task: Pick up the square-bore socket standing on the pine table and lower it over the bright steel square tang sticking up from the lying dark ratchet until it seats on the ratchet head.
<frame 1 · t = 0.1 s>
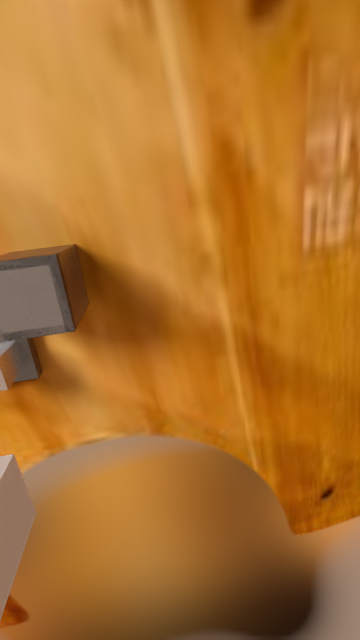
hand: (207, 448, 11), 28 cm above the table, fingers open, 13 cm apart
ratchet: (9, 351, 38), on the table
socket: (51, 279, 35), on the table
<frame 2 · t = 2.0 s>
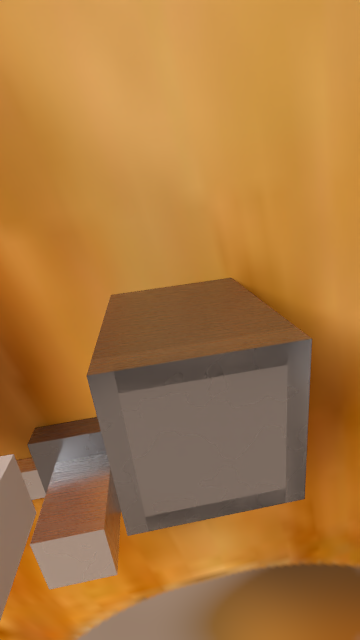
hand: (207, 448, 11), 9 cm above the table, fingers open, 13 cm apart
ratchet: (93, 460, 21), on the table
socket: (178, 341, 19), on the table
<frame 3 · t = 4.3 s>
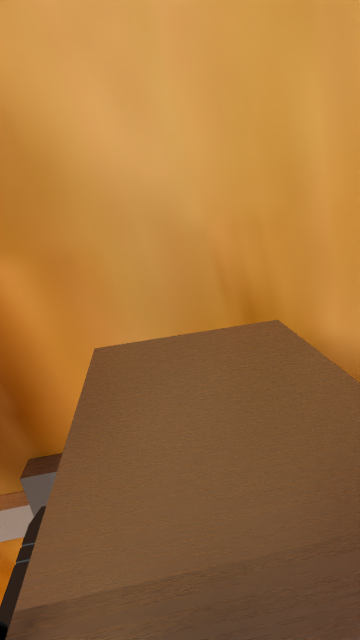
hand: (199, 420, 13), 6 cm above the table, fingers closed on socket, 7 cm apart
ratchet: (89, 492, 20), on the table
socket: (197, 410, 13), point 6 cm above the table, touching gripper
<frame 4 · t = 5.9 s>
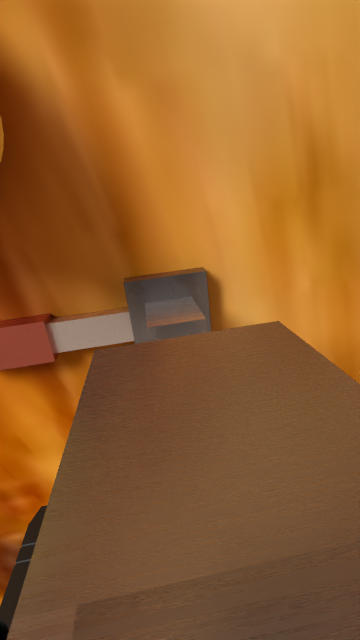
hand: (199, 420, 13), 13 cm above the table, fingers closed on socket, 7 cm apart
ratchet: (169, 315, 25), on the table
socket: (197, 412, 13), point 13 cm above the table, touching gripper
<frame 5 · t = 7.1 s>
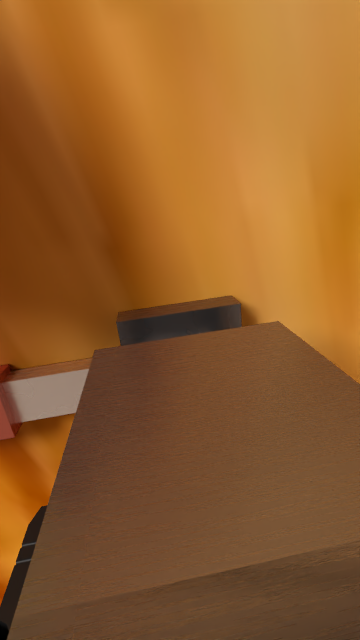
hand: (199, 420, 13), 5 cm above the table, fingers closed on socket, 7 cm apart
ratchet: (183, 363, 17), on the table
socket: (197, 412, 13), point 5 cm above the table, touching gripper
when the fingers open (3 cm above the table, at t = 7.8 s): socket drops 1 cm, resting on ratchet.
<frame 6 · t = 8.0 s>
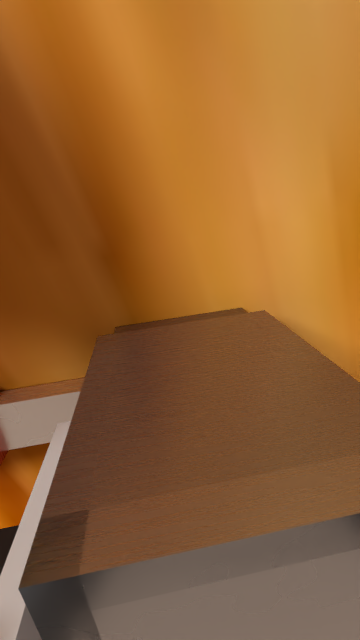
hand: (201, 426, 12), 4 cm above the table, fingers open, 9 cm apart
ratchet: (187, 381, 16), on the table
socket: (191, 394, 14), point 2 cm above the table, touching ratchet
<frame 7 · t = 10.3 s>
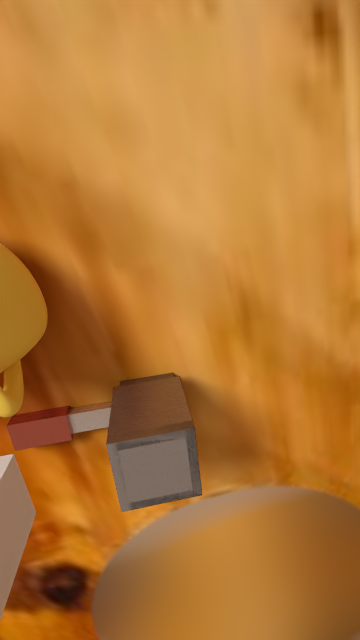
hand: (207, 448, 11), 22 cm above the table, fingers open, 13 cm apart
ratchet: (151, 403, 36), on the table
socket: (151, 409, 34), point 1 cm above the table, touching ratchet
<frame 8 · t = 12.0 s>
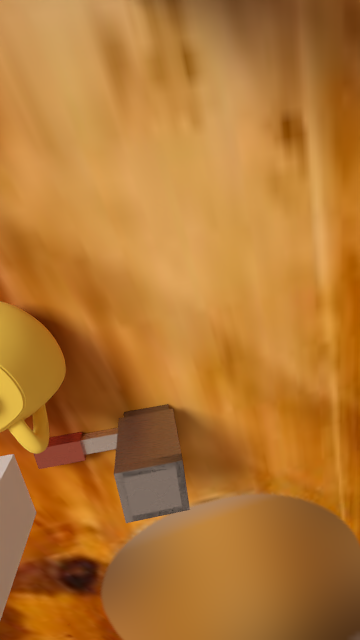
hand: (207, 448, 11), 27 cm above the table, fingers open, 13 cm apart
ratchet: (150, 429, 43), on the table
socket: (150, 435, 41), point 1 cm above the table, touching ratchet
teapot: (0, 357, 37), on the table
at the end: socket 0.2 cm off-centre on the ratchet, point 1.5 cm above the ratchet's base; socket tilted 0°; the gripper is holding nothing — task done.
